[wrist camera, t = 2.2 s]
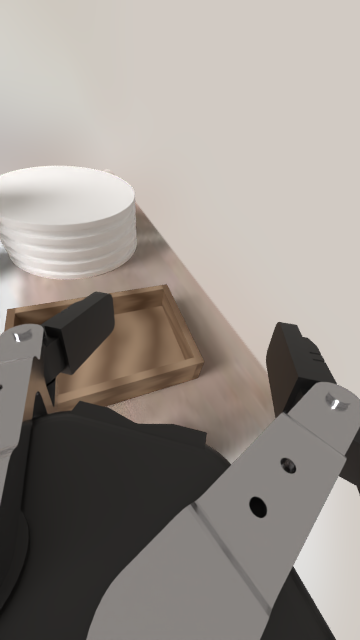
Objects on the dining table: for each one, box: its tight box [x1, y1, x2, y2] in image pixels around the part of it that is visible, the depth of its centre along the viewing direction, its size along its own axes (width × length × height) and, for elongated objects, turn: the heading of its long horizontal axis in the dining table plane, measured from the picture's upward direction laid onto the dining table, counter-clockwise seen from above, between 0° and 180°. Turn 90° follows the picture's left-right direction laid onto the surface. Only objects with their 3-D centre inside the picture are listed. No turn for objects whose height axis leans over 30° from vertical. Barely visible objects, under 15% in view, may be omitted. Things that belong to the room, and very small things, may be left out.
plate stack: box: [0, 166, 137, 279], centre depth 48 cm, size 28×28×12 cm
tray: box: [4, 284, 204, 412], centre depth 33 cm, size 24×16×5 cm, turn 110°
